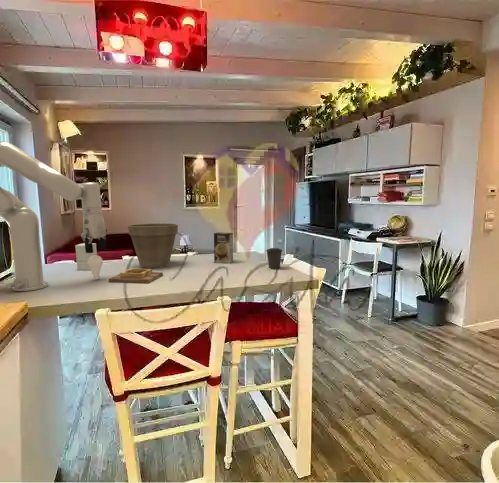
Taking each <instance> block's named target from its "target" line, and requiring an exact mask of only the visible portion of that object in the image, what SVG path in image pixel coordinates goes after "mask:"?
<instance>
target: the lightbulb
mask: <svg viewBox="0 0 499 483" xmlns="http://www.w3.org/2000/svg"><path fill="white" fill-rule="evenodd" d="M103 263H104V261H103V258H102V257H101V256H99V255H98V254H97V255H93V256H91V257H90V258H89V259H88V265H89V267H90V268H91V270H90V271H91V274H92V279H93V280H95V281H97V280H99V279H100V273H101V268H102V266H103Z"/></svg>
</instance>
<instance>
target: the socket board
mask: <svg viewBox="0 0 499 483" xmlns="http://www.w3.org/2000/svg"><path fill="white" fill-rule="evenodd" d="M163 276H164V274H163V271H162V272H161V271H159V272H158V271H157V272H156V271H155V272H154V271H153V268H129V269H126V270H124V271H121V272H120V273H119V274H117V275H115V276H112V277H109V278H108V283H117V284H119V283H120V284H121V283H123V284H150V283H153V282H155V280H157V279H159V278H161V277H163Z"/></svg>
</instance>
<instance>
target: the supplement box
mask: <svg viewBox="0 0 499 483" xmlns="http://www.w3.org/2000/svg"><path fill="white" fill-rule="evenodd" d="M91 243H92V245H93V253H86V251H85V244H84V242H83V243H79V244H75V245H74V247H75V256H76V259H75V260H76V268H77V269H76V270H78V271H91V268H90V267H89V265H88V259H89V258H90V257H91V256H93V255H98V252H97V243H95V242H94V243H93V242H91Z"/></svg>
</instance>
